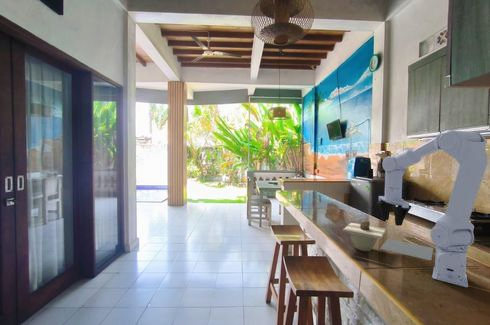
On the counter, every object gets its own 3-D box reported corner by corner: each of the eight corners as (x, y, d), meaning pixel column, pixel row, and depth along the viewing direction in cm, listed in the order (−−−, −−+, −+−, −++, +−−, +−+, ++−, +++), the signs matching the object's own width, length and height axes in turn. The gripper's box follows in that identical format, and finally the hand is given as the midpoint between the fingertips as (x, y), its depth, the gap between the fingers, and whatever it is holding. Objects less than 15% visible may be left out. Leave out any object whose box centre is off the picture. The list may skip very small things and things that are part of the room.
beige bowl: (381, 255, 92) (382, 236, 92) (352, 252, 94) (352, 233, 94) (373, 246, 102) (373, 228, 102) (346, 243, 104) (347, 226, 104)
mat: (431, 261, 88) (431, 260, 88) (379, 249, 98) (379, 248, 98) (433, 249, 100) (433, 248, 100) (387, 239, 110) (387, 238, 110)
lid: (380, 239, 89) (381, 228, 89) (342, 231, 96) (342, 221, 96) (386, 230, 99) (386, 221, 99) (351, 224, 107) (351, 215, 107)
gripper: (417, 190, 91) (415, 227, 92) (390, 185, 106) (388, 217, 106) (399, 190, 91) (397, 228, 91) (374, 185, 105) (373, 217, 106)
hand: (391, 222), depth 99 cm, fingers open, 7 cm apart
